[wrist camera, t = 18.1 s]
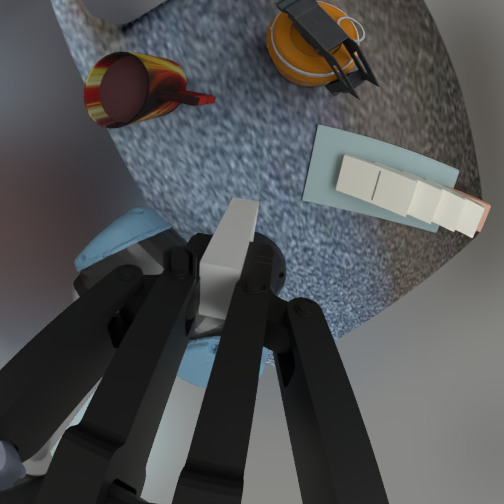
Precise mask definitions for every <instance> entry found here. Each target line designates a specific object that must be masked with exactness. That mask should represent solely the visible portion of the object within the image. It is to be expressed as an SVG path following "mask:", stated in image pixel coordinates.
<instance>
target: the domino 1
mask: <svg viewBox="0 0 504 504" xmlns="http://www.w3.org/2000/svg"><path fill="white" fill-rule="evenodd" d="M417 183H418V181H417V179H414V178H412V177H409V176H407V175H404V174H402V173H399V172H397V171H394V170H392V169H389V168H386V167H384V166H381V165H378V164H376V163H373V162H370V161H367V160H364V159H361V158H358V157H355V156H352V155H349V154H345V155H344V158H343V162H342V166H341V170H340V174H339V178H338V182H337V186H336V190H337V191H340V192H343V193H345V194H348V195H351V196H354V197H356V198H359V199H362V200H364V201H367V202H369V203H372V204H374V205H377V206H380V207H382V208H384V209H387V210H389V211H392V212H394V213H397V214H399V215H401V216H404V217H406V215H407V212H408V209H409V207H410V204H411V201H412V198H413V195H414V192H415V189H416V186H417Z"/></svg>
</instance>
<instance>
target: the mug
mask: <svg viewBox="0 0 504 504" xmlns="http://www.w3.org/2000/svg"><path fill="white" fill-rule="evenodd" d="M186 85H187V83H186V77H185V74H184V72H183V70H182V68H181V67H180V66H179V65H178V64H177V63H175V62H174V61H172V60H169V59H165V58H160V57H154V56H149V55H143V54H136V53H129V52H115V53H112V54H109V55H107V56H105V57H104V58H102V59H101V60H100V61H99V62H97V63H96V65H95V66H94V67H93V68H92V70H91V72H90V73H89V75H88V77H87V80H86V83H85V88H84V102H85V106H86V109H87V112H88V113H89V115H90V117H91V118H92V119H93V120H94V121H95V122H96V123H97V124H99V125H101V126H103V127H106V128H119V127H123V126H126V125H130V124H133V123H137V122H140V121H144V120H148V119H151V118H155V117H159V116H163V115H166V114H168V113H170V112H172V111H173V110H174V109H175V108H177V107H178V105H179V104H180V103H184V104H189V105H193V106H196V105H202V104H211V103H214V102H215V99H216V97H215V96H211V95H206V94H201V93H196V92H190V91H186Z"/></svg>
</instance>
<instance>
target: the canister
mask: <svg viewBox="0 0 504 504" xmlns="http://www.w3.org/2000/svg"><path fill="white" fill-rule="evenodd" d="M275 3H276V6H277V7H278V8H279V9H280V10H281V12H280V13H279V14H277V15H276V17H275V18H274V19H273V20H272V22H271V23H270V25H269V28H268V31H267V47H268V51H269V53H270V56H271V58H272V60H273V62H274V64H275V66H276V68H277V70H278V71H279V73H280V74H281V75H282V76H283V77H284V78H285V79H286V80H288V81H289V82H291V83H293V84H296V85H299V86H303V87H314V86H319V85H322V84H325V83H328V82H330V83H328V84H327V85H325V87H326V88H327V89H328V90H329V91H330V92H331V93H332V95H333V96H336V95H337V94H339V93H340V92H342V93H348V92H349V93H350V94H352V95H353V96H355V97H356V98H357V99H359V100H360V98H359V96H358V95H357V93H356V91H355V89H354V88H356V87H357V86H359V85H360V84H362V83H363V82H365V80H367V81H369V82H371V83H373V84H375V85H376V86H378V87H380V86H379V84H378V82H377V80H376V77H375V75H374V73H373V71H372V69H371V67H370V66H369V64H368V62H367V60H366V58H365V56H364V54H363V52H362V51H361V49H360V47H359V42H360V41H362V40H363V39H364V38H365V31H364V29H363V27H362V26H361V24H360V23H359V22H357V21H356V20H355V19H353V18H350V17H348V16H347V15H346V14H345V13H344V12H343V11H341V10H340V9H338V8H336V7H335V6H333V5H330V4H327V3H324V2H320V1H316V0H278V1H277V2H275ZM352 21H353V22H354V23H356V24H357V25H358V26H359V28H360V29H361V31H362V37H361V39H360V40H359V36H358V32H357V29H356V27H355V25H354V23H353V22H352ZM358 56H359V58H360V60H361V61H362V63H363V65H364V67H365V69H366V71H367V73H366V72H365V70H364V68H363V67H362V65H361V63H360V62H359V60H358ZM354 64H356V66H357V67H358V69H359V70H357V71H354V72H351V73H348V72H349V71H350V70H351V69H352V68H353V66H354ZM347 73H348V74H347Z"/></svg>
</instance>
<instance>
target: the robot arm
mask: <svg viewBox="0 0 504 504" xmlns="http://www.w3.org/2000/svg"><path fill="white" fill-rule="evenodd" d="M258 207H259V201H253V200H248V199H242V198H236V197H233V198H232V200H231V202H230V204H229V206H228V208H227V210H226V212H225V214H224V215H223V217H222V219H221V221H220V223H219V225H218V227H217V229H216V231H215V233H214V235H208V234H202V233H197V234H196V235H194V236H192V237H191V238H190V240H189V242H187V241H186V240H185V239H183V238H182V237H181V236H180V235H179V234H178V233H177V232H176V231H175V230H174V229H173V227H174V226H173V225H172V224H168V223H167V222H166V221H165V220H164V219H163V218H162V217H160V216H159V215H158V214H157V213H156V212H155V211H154V210H152V209H151V208H149V207H146V206H139V207H135V208H133V209H131V210H129V211H128V212H126V213H125V214H123V215H122V216H120V217H119V218H118V219H116V220H115V221H114V222H112V223H111V224H110V225H109V226H107V227H106V228H105V229H104V230H103V231H102V232H100V233H99V234H98V235H97V236H96V237H95V238H94V239H93V240H92V241H91V242H90V243H89V244H88V245H87V246H86V247H85V248H84V250H83V251H82V252H81V253H80V254H79V255H78V256H77V258H76V259H75V262H74V265H75V266H76V270H77V271H78V272H81V273H80V275H79V276H78V277H77V278H76V280H75V281H74V282H73V284H72V295H73V303H72V304H71V305H70V306H69V307H67V308H66V309H65V310H64V311H63V312H62V313H61V314H59V315H58V316H57V317H56V318H55V319H54V320H53V321H51V322H50V323H49V324H48V325H47V326H46V327H45V328H44V329H43V330H42V331H40V332H39V333H38V334H37V335H36V336H35V337H34V338H33V339H32V340H31V341H30V342H29V343H27V344H26V345H25V346H24V347H23V348H22V349H21V350H20V351H19V352H18V353H17V354H16V355H15V356H14V357H13V358H12V359H11V360H10V361H9V362H8V363H7V364H6V365H5V366H4V367H3V368H2V369H1V370H0V504H155V503H149V502H147V501H145V500H143V499H142V498H140V496H141V493H142V490H143V486H144V482H145V477H146V464H147V460H148V457H149V454H150V451H151V448H152V445H153V442H154V439H155V436H156V433H157V430H158V427H159V424H160V421H161V418H162V415H163V412H164V410H165V406H166V403H167V401H168V398H169V395H170V392H171V389H172V386H173V384H174V381H175V378H176V375H178V376H179V377H180V378H182V379H183V380H185V381H187V382H189V383H191V384H194V385H197V386H200V387H203V388H206V391H205V395H204V398H203V402H202V406H201V410H200V413H199V417H198V420H197V424H196V427H195V431H194V435H193V439H192V442H191V446H190V450H189V453H188V457H187V460H186V463H185V466H184V467H183V469H182V471H181V473H180V476H179V479H178V482H177V486H176V490H175V493H174V497H173V501H172V504H241V499H242V493H243V485H244V484H243V483H244V479H243V476H244V469H245V463H246V457H247V451H248V445H249V439H250V432H251V426H252V420H253V413H254V406H255V400H256V393H257V386H258V380H259V378H260V377H261V375H262V373H263V371H264V368H265V363H266V358H267V356H268V353H269V350H272V351H273V355H274V360H275V366H276V371H277V375H278V380H279V385H280V390H281V396H282V401H283V406H284V411H285V416H286V421H287V426H288V431H289V436H290V441H291V446H292V451H293V456H294V461H295V466H296V471H297V476H298V481H299V487H300V491H301V497H302V502H303V504H389V502H388V499H387V495H386V492H385V488H384V485H383V482H382V479H381V475H380V472H379V468H378V465H377V462H376V459H375V455H374V452H373V449H372V446H371V443H370V440H369V437H368V434H367V431H366V428H365V425H364V422H363V419H362V416H361V413H360V410H359V407H358V404H357V402H356V399H355V396H354V393H353V390H352V387H351V385H350V382H349V379H348V376H347V374H346V371H345V368H344V366H343V363H342V360H341V358H340V355H339V352H338V350H337V347H336V345H335V342H334V339H333V337H332V334H331V331H330V329H329V326H328V324H327V321H326V319H325V316H324V314H323V311H322V309H321V307H320V306H319V305H318V304H317V303H316V302H315V301H313V300H310V299H308V298H302V297H299V298H294V299H292V300H290V301H289V302H287V301H285V300H283V299H281V298H279V297H277V296H278V295H279V293H280V291H281V290H282V288H283V286H284V283H285V278H286V262H285V258H284V256H283V254H282V252H281V250H280V249H279V248H278V246H277V245H276V244H275V243H274V242H273V241H271V240H270V239H269V238H267V237H266V236H264V235H262V234H259V233H257V232H255V226H256V220H257V213H258ZM97 386H98V387H97ZM96 388H97V389H96ZM95 389H96V391H95V393H94V395H93V397H92V399H91V401H90V403H89V405H88V407H87V409H86V411H85V414H84V416H83V418H82V420H81V421H80V423H79V424H78V425H75V426H71V427H69V428H68V429H67V430H66V428H67V427H68V426H69V424H70V423H71V421H72V420H73V419H74V417H75V416H76V415H77V413H78V412H79V410H80V409H81V408H82V406H83V405H84V404H85V402H86V401H87V400H88V398H89V397H90V396H91V394H92V393H93V392H94V390H95ZM64 431H65V432H64ZM63 433H64V434H63ZM62 434H63V435H62ZM61 435H62V438H61V439H60V442H59V444H58V446H57V448H56V451H55V453H54V455H53V458H52V456H51V453H50V451H51V450H52V448H53V447H54V445H55V444H56V442H57V441H58V440H59V438H60V437H61Z"/></svg>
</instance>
